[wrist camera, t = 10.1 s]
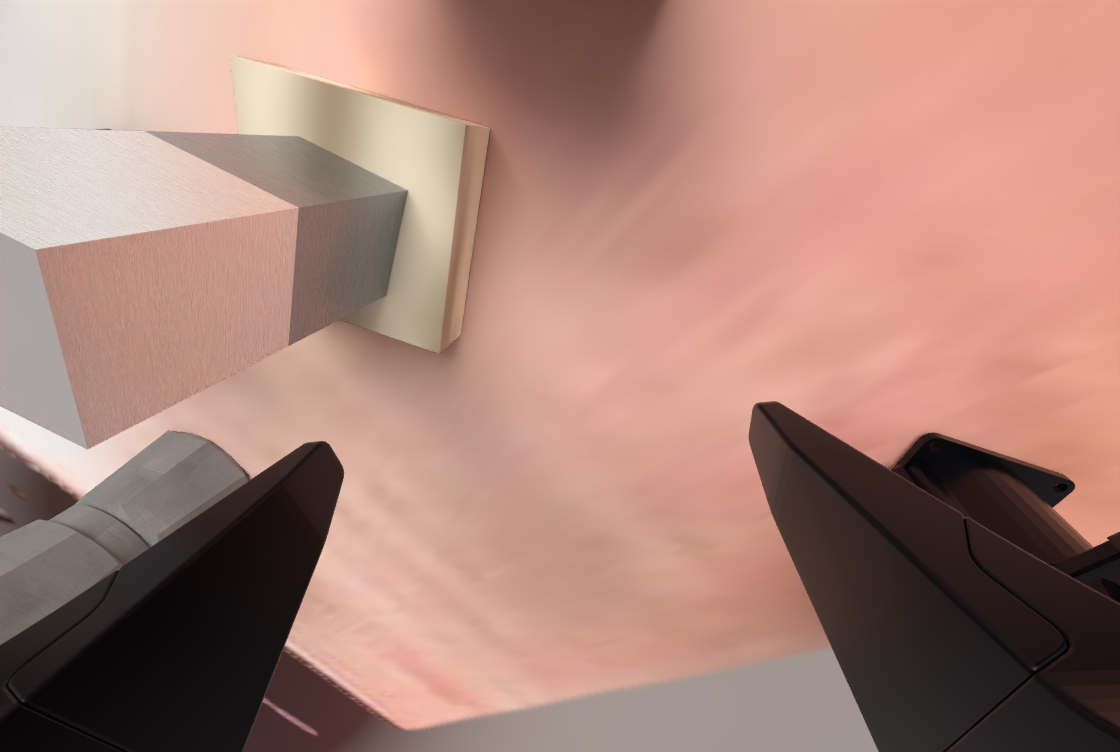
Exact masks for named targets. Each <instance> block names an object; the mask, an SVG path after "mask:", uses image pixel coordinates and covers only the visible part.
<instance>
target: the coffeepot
mask: <svg viewBox="0 0 1120 752" xmlns="http://www.w3.org/2000/svg"><path fill="white" fill-rule="evenodd" d="M248 481H250V480H249V478H248V477H247V475H246V473H245V472H244V471H243V469H242V468H241V467H240V465H239V464H238V463H237V462H236V461H235V460H234V459H233V458H232V457H231V456H230V455H229V454H227V453H226V452H225V451H224V450H222V449H221V448H220V447H218V446H217V445H215V444H214V443H212V442H210V441H208V440H206V439H204V438H202V437H200V436H197V435H194V434H191V433H186V432H173V431H167V432H166V433H165V434H163V435H162V436H161V437H159V438H158V439H157V440H156V441H154V442H153V443H152V444H150V445H149V446H148V447H146V448H145V449H144V450H143V451H141V452H140V453H139V454H137V455H136V456H135V457H134V458H132V459H131V460H130V461H128V462H127V463H126V464H125V465H123V466H122V467H121V468H119V469H118V470H117V471H115V472H114V473H113V474H112V475H110V476H109V477H108V478H106V479H105V480H104V481H103V482H101V483H100V484H99V485H97V486H96V487H95V488H94V489H92V490H91V491H90V492H88V493H87V494H86V495H85V496H83V497H82V498H81V499H80V500H79V501H78V502H77V503H76V504H75V505H74V506H72V507H70V508H69V509H67V510H65V511H64V512H62V513H60V514H59V515H57V516H56V517H54V518H52V519H51V520H49V521H44V520H37V521H34V522H32V523H30V524H28V525H26V526H23V527H21V528H19V529H17V530H15V531H12V532H10V533H8V534H6V535H4V536H2V537H0V645H1V644H2V643H4V642H6V641H7V640H9V639H10V638H12V637H14V636H15V635H17V634H18V633H20V632H22V631H23V630H25V629H26V628H28V627H29V626H31V625H33V624H34V623H36V622H37V621H39V620H41V619H42V618H44V617H45V616H47V615H49V614H50V613H52V612H53V611H55V610H56V609H58V608H59V607H61V606H63V605H64V604H66V603H67V602H69V601H70V600H72V599H73V598H75V597H76V596H78V595H79V594H81V593H82V592H84V591H85V590H87V589H88V588H90V587H91V586H93V585H94V584H96V583H97V582H99V581H100V580H102V579H103V578H105V577H106V576H108V575H109V574H111V573H112V572H114V571H115V570H120V568H121V567H122V566H123V565H124V564H126V563H127V562H129V561H130V560H132V559H133V558H135V557H136V556H138V555H139V554H141V553H142V552H144V551H145V550H147V549H148V548H150V547H151V546H153V545H154V544H156V543H157V542H159V541H160V540H162V539H163V538H165V537H166V536H168V535H169V534H171V533H172V532H174V531H175V530H177V529H178V528H180V527H181V526H182V525H184V524H185V523H187V522H188V521H190V520H191V519H193V518H194V517H196V516H197V515H199V514H200V513H202V512H203V511H205V510H206V509H208V508H209V507H211V506H212V505H214V504H215V503H217V502H218V501H220V500H221V499H223V498H224V497H226V496H227V495H229V494H230V493H232V492H233V491H235V490H236V489H238V488H239V487H241V486H242V485H244V484H245V483H247V482H248Z"/></svg>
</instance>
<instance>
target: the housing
mask: <svg viewBox="0 0 1120 752" xmlns="http://www.w3.org/2000/svg"><path fill="white" fill-rule="evenodd" d="M407 193H408V190H406V189H404V188H402V187H400V186H398V185H396V184H394V183H392V182H390V181H388V180H386V179H384V178H382V177H380V176H378V175H376V174H374V173H372V172H370V171H368V170H366V169H364V168H362V167H360V166H358V165H356V164H354V163H352V162H350V161H348V160H346V159H344V158H342V157H340V156H338V155H336V154H334V153H332V152H330V151H328V150H326V149H324V148H322V147H320V146H318V145H316V144H314V143H312V142H310V141H308V140H306V139H304V138H302V137H300V136H276V135H245V134H214V133H183V132H152V131H122V130H91V129H60V128H29V127H0V406H1V407H3V408H5V409H7V410H9V411H11V412H13V413H15V414H17V415H19V416H21V417H23V418H25V419H27V420H29V421H31V422H33V423H35V424H37V425H39V426H41V427H43V428H45V429H47V430H49V431H52V432H54V433H56V434H58V435H60V436H62V437H64V438H66V439H68V440H70V441H72V442H74V443H76V444H78V445H80V446H82V447H84V448H86V449H89V448H91V447H93V446H95V445H97V444H99V443H101V442H103V441H105V440H107V439H109V438H111V437H113V436H115V435H116V434H118V433H120V432H122V431H124V430H126V429H128V428H130V427H132V426H134V425H136V424H138V423H140V422H142V421H144V420H146V419H148V418H149V417H151V416H153V415H155V414H157V413H159V412H161V411H163V410H165V409H167V408H169V407H171V406H173V405H175V404H177V403H179V402H181V401H183V400H184V399H186V398H188V397H190V396H192V395H194V394H196V393H198V392H200V391H202V390H204V389H206V388H208V387H210V386H212V385H214V384H216V383H217V382H219V381H221V380H223V379H225V378H227V377H229V376H231V375H233V374H235V373H237V372H239V371H241V370H243V369H245V368H247V367H249V366H250V365H252V364H254V363H256V362H258V361H260V360H262V359H264V358H266V357H268V356H270V355H272V354H274V353H276V352H278V351H280V350H282V349H284V348H285V347H287V346H289V345H291V344H293V343H295V342H297V341H299V340H301V339H303V338H305V337H307V336H309V335H311V334H313V333H315V332H317V331H318V330H320V329H322V328H324V327H326V326H328V325H330V324H332V323H334V322H336V321H338V320H340V319H342V318H344V317H346V316H348V315H350V314H351V313H353V312H355V311H357V310H359V309H361V308H363V307H365V306H367V305H369V304H371V303H373V302H375V301H377V300H379V299H381V298H383V297H385V296H386V295H387V291H388V286H389V281H390V276H391V271H392V266H393V261H394V256H395V251H396V247H397V242H398V237H399V232H400V227H401V222H402V217H403V212H404V207H405V202H406V198H407Z"/></svg>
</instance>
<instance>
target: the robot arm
mask: <svg viewBox="0 0 1120 752" xmlns="http://www.w3.org/2000/svg"><path fill="white" fill-rule="evenodd" d="M935 442H937V444H935V445H934V446H929V445H930V444H932V443H935ZM749 443H750V447H751V450H752V453H753V456H754V459H755V463H756V466H757V469H758V472H759V475H760V479H761V482H762V485H763V488H764V491H765V494H766V498H767V501H768V504H769V507H770V510H771V513H772V515H773V517H774V520H775V522H776V525H777V527H778V529H779V531H780V534H781V536H782V538H783V540H784V542H785V545H786V547H787V549H788V551H789V553H790V556H791V558H792V560H793V562H794V565H795V567H796V569H797V571H798V573H799V576H800V578H801V580H802V582H803V585H804V587H805V589H806V591H807V593H808V596H809V598H810V600H811V602H812V605H813V607H814V609H815V611H816V613H817V616H818V618H819V620H820V622H821V625H822V627H823V629H824V631H825V633H826V636H827V638H828V640H829V642H830V644H831V647H832V649H833V651H834V653H835V656H836V658H837V660H838V662H839V664H840V667H841V669H842V671H843V673H844V675H845V678H846V680H847V682H848V684H849V686H850V689H851V691H852V693H853V696H854V698H855V700H856V702H857V704H858V707H859V709H860V711H861V713H862V715H863V718H864V720H865V722H866V724H867V727H868V729H869V731H870V733H871V736H872V738H873V740H874V742H875V744H876V747H877V749H878V751H879V752H1120V532H1118V533H1116V534H1114V535H1111V536H1109V537H1107V539H1108V540H1109V541H1107V542H1105V543H1102V544H1100V545H1098V546H1096V547H1093V546H1092V545H1091V544H1090V543H1089V542H1088V541H1087V540H1085V539H1084V538H1083V537H1082V536H1081V535H1080V534H1079V533H1078V532H1077V531H1076V530H1075V529H1074V528H1073V527H1072V526H1071V525H1070V524H1069V523H1068V522H1066V521H1065V520H1064V519H1063V518H1062V517H1061V516H1060V515H1059V514H1058V513H1057V512H1056V511H1055V510H1054V509H1053V507H1054V506H1055V505H1056V504H1058V503H1059V502H1060V501H1061V500H1063V499H1064V498H1065V497H1066V496H1067V495H1069V494H1070V493H1071V492H1072V491H1073V490H1074V489H1075V484H1074V482H1073V481H1071V480H1070V479H1069V478H1068V477H1066V476H1065V475H1063V474H1060V473H1057V472H1054V471H1051V470H1048V469H1045V468H1042V467H1039V466H1036V465H1033V464H1030V463H1027V462H1024V461H1021V460H1018V459H1015V458H1012V457H1008V456H1005V455H1002V454H999V453H996V452H993V451H990V450H987V449H984V448H981V447H978V446H975V445H972V444H969V443H966V442H963V441H960V440H957V439H954V438H950V437H947V436H944V435H941V434H938V433H928V434H925V435H923V436H922V437H921V438H920V439H919V440H918V441H917V442H916V443H915V444H914V445H913V447H912V448H911V449H910V450H909V451H908V452H907V453H906V455H905V456H904V457H903V458H902V459H901V460H900V461H899V463H898V464H897V465H896V466H895V467H894V468H893V469H892V470H889V469H888V468H886V467H884V466H883V465H881V464H880V463H878V462H876V461H875V460H873V459H871V458H870V457H868V456H866V455H865V454H863V453H861V452H860V451H858V450H856V449H855V448H853V447H852V446H850V445H848V444H847V443H845V442H843V441H842V440H840V439H838V438H837V437H835V436H833V435H832V434H830V433H828V432H827V431H825V430H824V429H822V428H820V427H819V426H817V425H815V424H814V423H812V422H810V421H809V420H807V419H805V418H804V417H802V416H801V415H799V414H797V413H796V412H794V411H792V410H791V409H789V408H787V407H786V406H784V405H782V404H781V403H779V402H776V401H772V402H760V403H756V404H755V405H754V407H753V410H752V417H751V423H750V429H749ZM343 478H344V469H343V466H342V464H341V463H340V461H339V459H338V458H337V456H336V454H335V453H334V451H333V449H332V448H331V446H330V445H329V444H328V443H327V442H324V441H318V442H308V443H305V444H303V445H302V446H300V447H299V448H297V449H296V450H294V451H293V452H291V453H290V454H288V455H287V456H285V457H284V458H282V459H281V460H279V461H278V462H276V463H275V464H273V465H272V466H270V467H269V468H267V469H266V470H264V471H263V472H261V473H260V474H258V475H257V476H255V477H254V478H253V479H251V480H250V481H248V482H247V483H245V484H244V485H242V486H241V487H239V488H238V489H236V490H235V491H233V492H232V493H230V494H229V495H227V496H226V497H224V498H223V499H221V500H220V501H218V502H217V503H215V504H214V505H212V506H211V507H209V508H208V509H206V510H205V511H203V512H202V513H200V514H199V515H197V516H196V517H194V518H193V519H191V520H190V521H188V522H187V523H185V524H184V525H182V526H181V527H180V528H178V529H177V530H175V531H174V532H172V533H171V534H169V535H168V536H166V537H165V538H163V539H162V540H160V541H159V542H157V543H156V544H154V545H153V546H151V547H150V548H148V549H147V550H145V551H144V552H142V553H141V554H139V555H138V556H136V557H135V558H133V559H132V560H130V561H129V562H127V563H126V564H124V565H123V566H122V567H121V568H120V570H115V571H114V572H112V573H111V574H109V575H108V576H106V577H105V578H103V579H102V580H100V581H99V582H97V583H96V584H94V585H93V586H91V587H90V588H88V589H87V590H85V591H84V592H82V593H81V594H79V595H78V596H76V597H75V598H73V599H72V600H70V601H69V602H67V603H66V604H64V605H63V606H61V607H59V608H58V609H56V610H55V611H53V612H52V613H50V614H49V615H47V616H45V617H44V618H42V619H41V620H39V621H37V622H36V623H34V624H33V625H31V626H29V627H28V628H26V629H25V630H23V631H22V632H20V633H18V634H17V635H15V636H14V637H12V638H10V639H9V640H7V641H6V642H4V643H2V644H1V645H0V752H243V749H244V747H245V744H246V742H247V739H248V737H249V734H250V732H251V729H252V727H253V724H254V721H255V719H256V716H257V714H258V711H259V709H260V706H261V704H262V701H263V699H264V696H265V693H266V691H267V689H268V686H269V683H270V681H271V678H272V676H273V674H274V671H275V668H276V666H277V663H278V661H279V658H280V656H281V653H282V651H283V648H284V646H285V643H286V641H287V638H288V636H289V633H290V631H291V628H292V626H293V623H294V620H295V618H296V615H297V613H298V610H299V608H300V605H301V603H302V600H303V598H304V595H305V593H306V590H307V588H308V585H309V583H310V580H311V577H312V575H313V572H314V570H315V567H316V565H317V562H318V560H319V557H320V555H321V552H322V549H323V547H324V544H325V541H326V538H327V535H328V532H329V528H330V524H331V521H332V517H333V514H334V510H335V507H336V503H337V500H338V496H339V493H340V489H341V485H342V482H343ZM1057 484H1058V485H1057ZM1055 485H1057V486H1055Z"/></svg>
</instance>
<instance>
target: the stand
mask: <svg viewBox="0 0 1120 752" xmlns="http://www.w3.org/2000/svg"><path fill="white" fill-rule="evenodd" d="M229 59H230V67H231V75H232V83H233V91H234V99H235V107H236V116H237V124H238V132H239V134H245V135H276V136H300V137H302V138H304V139H306V140H308V141H310V142H312V143H314V144H316V145H318V146H320V147H322V148H324V149H326V150H328V151H330V152H332V153H334V154H336V155H338V156H340V157H342V158H344V159H346V160H348V161H350V162H352V163H354V164H356V165H358V166H360V167H362V168H364V169H366V170H368V171H370V172H372V173H374V174H376V175H378V176H380V177H382V178H384V179H386V180H388V181H390V182H392V183H394V184H396V185H398V186H400V187H402V188H404V189H406V190H408V193H407V198H406V202H405V207H404V212H403V217H402V222H401V227H400V232H399V237H398V242H397V247H396V251H395V256H394V261H393V266H392V271H391V276H390V281H389V286H388V291H387V295H386V296H385V297H383V298H381V299H379V300H377V301H375V302H373V303H371V304H369V305H367V306H365V307H363V308H361V309H359V310H357V311H355V312H353V313H351V314H350V315H348V316H346V317H344V318H342V319H340V320H342V321H345V322H348V323H351V324H354V325H357V326H360V327H363V328H366V329H368V330H371V331H374V332H377V333H380V334H383V335H386V336H389V337H392V338H395V339H398V340H400V341H403V342H406V343H409V344H412V345H415V346H418V347H421V348H424V349H427V350H430V351H432V352H435V353H438V354H440V353H441V352H442V351H443V350H444V349H445V348H446V347H448V346H449V345H450V344H451V343H452V342H453V341H454V340H455V339H457V338H458V337H459V336H460V335H461V330H462V323H463V316H464V309H465V302H466V295H467V288H468V281H469V274H470V267H471V260H472V252H473V245H474V238H475V231H476V224H477V217H478V210H479V203H480V196H481V189H482V182H483V175H484V168H485V161H486V154H487V147H488V140H489V133H490V127H486V126H483V125H479V124H476V123H473V122H469V121H466V120H463V119H459V118H456V117H453V116H449V115H446V114H442V113H439V112H436V111H432V110H429V109H426V108H422V107H419V106H415V105H412V104H409V103H405V102H402V101H399V100H395V99H392V98H389V97H385V96H382V95H378V94H375V93H372V92H368V91H365V90H362V89H358V88H355V87H352V86H348V85H345V84H341V83H338V82H335V81H331V80H328V79H325V78H321V77H318V76H315V75H311V74H308V73H304V72H301V71H298V70H294V69H291V68H288V67H284V66H281V65H277V64H272V63H267V62H263V61H258V60H253V59H248V58H244V57H239V56H234V55H230V54H229Z"/></svg>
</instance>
